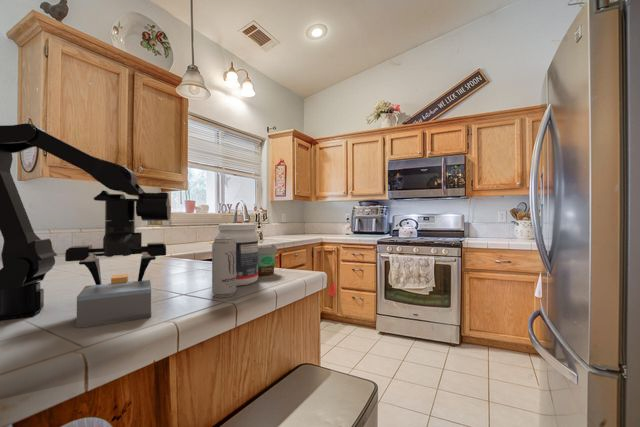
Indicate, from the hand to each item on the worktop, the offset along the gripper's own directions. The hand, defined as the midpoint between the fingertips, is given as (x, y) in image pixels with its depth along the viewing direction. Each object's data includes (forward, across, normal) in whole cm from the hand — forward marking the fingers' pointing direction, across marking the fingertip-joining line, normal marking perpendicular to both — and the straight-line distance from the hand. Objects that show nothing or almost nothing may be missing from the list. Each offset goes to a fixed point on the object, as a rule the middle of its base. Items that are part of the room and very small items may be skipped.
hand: (119, 288), depth 69 cm
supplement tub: (+4, +30, +11) cm, 32 cm away
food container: (+4, +42, +18) cm, 46 cm away
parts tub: (+4, 0, -7) cm, 8 cm away
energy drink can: (+4, +23, -2) cm, 23 cm away
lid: (0, 0, -5) cm, 5 cm away
